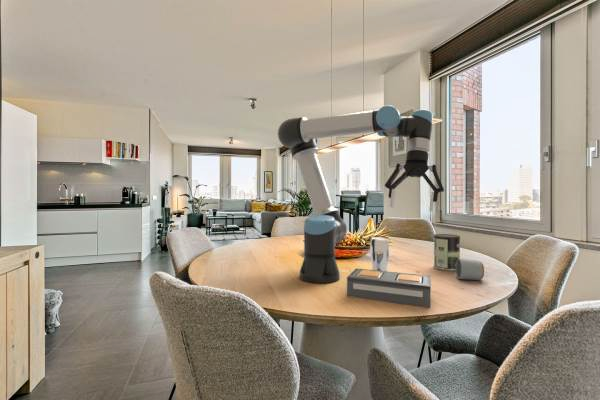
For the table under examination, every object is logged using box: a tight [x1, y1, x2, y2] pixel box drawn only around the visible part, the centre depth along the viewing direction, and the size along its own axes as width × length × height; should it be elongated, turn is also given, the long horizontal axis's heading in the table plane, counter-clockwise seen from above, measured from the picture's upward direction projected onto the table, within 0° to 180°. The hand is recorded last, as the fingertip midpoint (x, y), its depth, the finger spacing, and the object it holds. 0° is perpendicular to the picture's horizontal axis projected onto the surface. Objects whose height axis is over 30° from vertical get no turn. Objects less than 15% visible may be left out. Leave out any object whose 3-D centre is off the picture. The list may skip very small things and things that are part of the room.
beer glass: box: [369, 237, 390, 272], centre depth 116 cm, size 7×7×15 cm
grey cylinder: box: [455, 257, 485, 281], centre depth 116 cm, size 11×8×8 cm
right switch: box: [396, 274, 422, 283], centre depth 94 cm, size 7×7×4 cm
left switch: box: [357, 269, 383, 279], centre depth 99 cm, size 7×7×4 cm
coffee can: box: [433, 233, 461, 272], centre depth 132 cm, size 10×10×14 cm
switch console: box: [346, 268, 432, 308], centre depth 96 cm, size 24×12×6 cm, turn 66°
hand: (410, 208), depth 110 cm, fingers open, 13 cm apart
